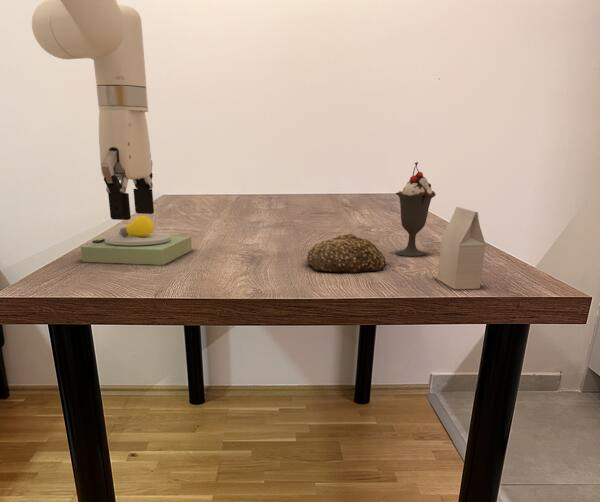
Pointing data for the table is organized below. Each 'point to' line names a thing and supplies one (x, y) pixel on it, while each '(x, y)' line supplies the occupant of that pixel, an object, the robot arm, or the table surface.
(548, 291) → the table surface
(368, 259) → the bread roll
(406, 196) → the sundae
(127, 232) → the light bulb
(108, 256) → the scale
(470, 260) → the gable-top milk carton
